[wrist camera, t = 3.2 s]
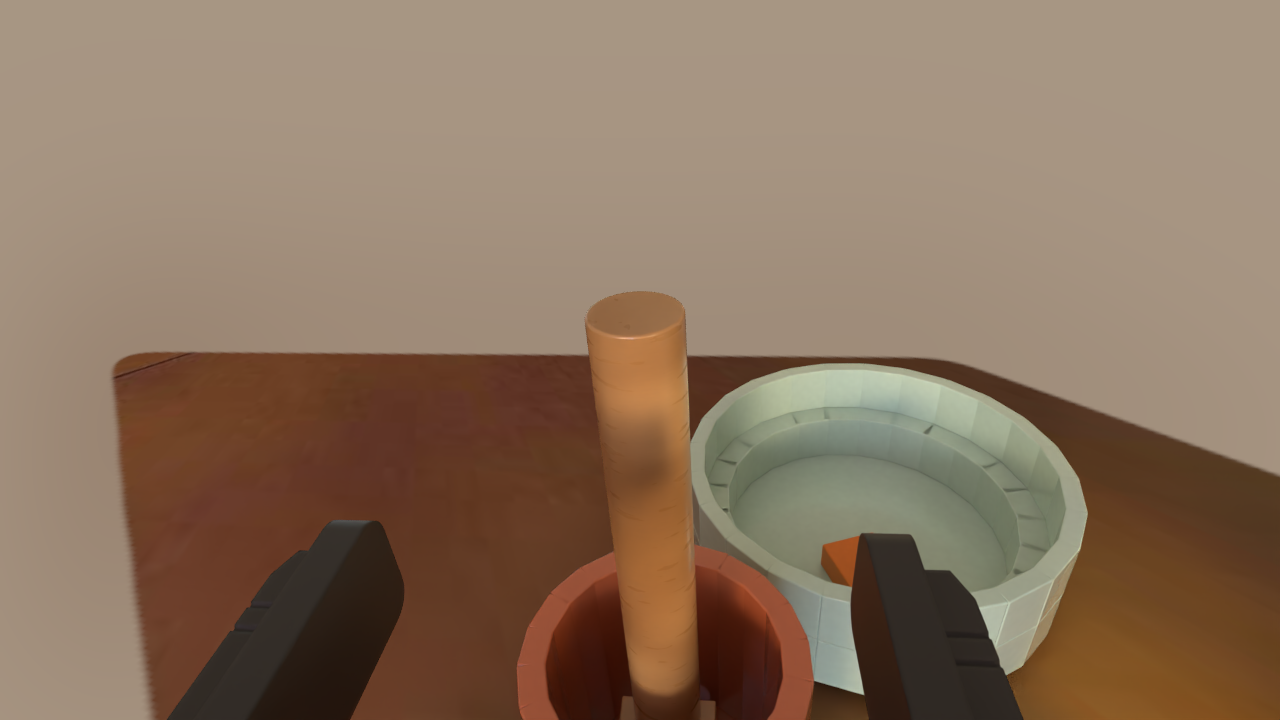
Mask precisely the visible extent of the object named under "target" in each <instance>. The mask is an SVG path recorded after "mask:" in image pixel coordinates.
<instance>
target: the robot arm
mask: <svg viewBox="0 0 1280 720" xmlns="http://www.w3.org/2000/svg"><path fill="white" fill-rule="evenodd" d="M403 601H404V583H403V579H402V576H401V573H400V570H399V568H398V565H397V562H396V560H395V557H394V554H393V552H392V549H391V546H390V544H389V541H388V538H387V536H386V533H385V530H384V528H383V526H382V525H381V523H379V522H378V521H359V520H333V521H331V522H329V523H328V524H327V525H326V526H325V527H324V529H323V530H322V531H321V533H320V534H319V536H318V537H317V539H316V540H315V542H314V543H313V545H312V546H311V548H310V549H309V551H298V552H297V553H296V554H295V555H293V556H292V557H291V558H290V559H289V560H287V561H286V562H285V563H284V564H283V565H281V566H280V567H279V568H278V569H277V570H275V571H274V572H273V573H272V574H271V575H270V576H269V578H268V579H267V580H266V582H265V583H264V585H263V586H262V587H261V589H260V590H259V592H258V593H257V594H256V596H255V597H254V599H253V600H252V601H251V607H250V608H246V610H245V611H244V613H243V614H242V615H241V617H240V618H239V620H238V621H237V622H236V624H235V629H234V631H230V632H229V633H228V635H227V636H226V638H225V639H224V640H223V642H222V643H221V645H220V646H219V647H218V649H217V650H216V652H215V653H214V654H213V656H212V657H211V659H210V660H209V661H208V663H207V664H206V666H205V667H204V668H203V670H202V671H201V673H200V674H199V675H198V677H197V678H196V680H195V681H194V682H193V684H192V685H191V687H190V688H189V689H188V691H187V692H186V694H185V695H184V696H183V698H182V699H181V701H180V702H179V703H178V705H177V706H176V708H175V709H174V710H173V712H172V713H171V715H170V716H169V717H168V719H167V720H350V719H351V717H352V715H353V713H354V710H355V708H356V706H357V704H358V702H359V700H360V698H361V696H362V694H363V692H364V689H365V687H366V685H367V683H368V681H369V679H370V677H371V675H372V673H373V671H374V669H375V666H376V664H377V662H378V660H379V658H380V656H381V654H382V652H383V650H384V648H385V646H386V643H387V641H388V639H389V637H390V635H391V633H392V631H393V629H394V627H395V625H396V622H397V620H398V618H399V616H400V613H401V610H402V606H403ZM850 611H851V626H852V634H853V639H854V645H855V650H856V655H857V660H858V665H859V670H860V675H861V680H862V685H863V690H864V695H865V700H866V706H867V711H868V716H869V720H1023V717H1022V715H1021V712H1020V710H1019V707H1018V705H1017V702H1016V700H1015V697H1014V695H1013V692H1012V689H1011V687H1010V684H1009V682H1008V679H1007V677H1006V674H1005V672H1004V669H1003V668H1002V667H1001V666H1000V659H999V657H998V654H997V652H996V649H995V647H994V644H993V642H992V639H990V638H989V631H988V629H987V626H986V624H985V621H984V619H983V616H982V614H981V611H980V609H979V606H978V604H977V601H976V599H975V598H974V597H973V596H972V595H971V593H970V592H969V591H968V590H967V589H966V588H965V587H964V586H963V584H962V583H961V582H960V581H959V580H958V579H957V578H956V577H955V575H954V574H953V573H952V572H951V571H950V570H925V569H924V566H923V563H922V560H921V557H920V554H919V551H918V548H917V545H916V543H915V540H914V538H913V537H912V535H910V534H886V533H861V534H860V536H859V541H858V548H857V555H856V562H855V569H854V577H853V584H852V591H851V602H850Z"/></svg>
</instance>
